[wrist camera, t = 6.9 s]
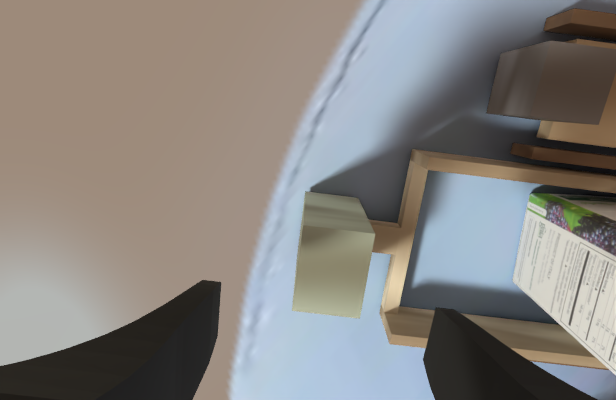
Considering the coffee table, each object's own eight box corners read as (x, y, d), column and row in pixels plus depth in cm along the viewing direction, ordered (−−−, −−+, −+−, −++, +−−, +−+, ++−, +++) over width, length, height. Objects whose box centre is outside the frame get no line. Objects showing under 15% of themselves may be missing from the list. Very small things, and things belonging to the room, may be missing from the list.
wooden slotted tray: (599, 338, 23) (693, 415, 17) (291, 302, 22) (284, 369, 17) (660, 180, 20) (795, 210, 15) (312, 136, 20) (312, 150, 14)
